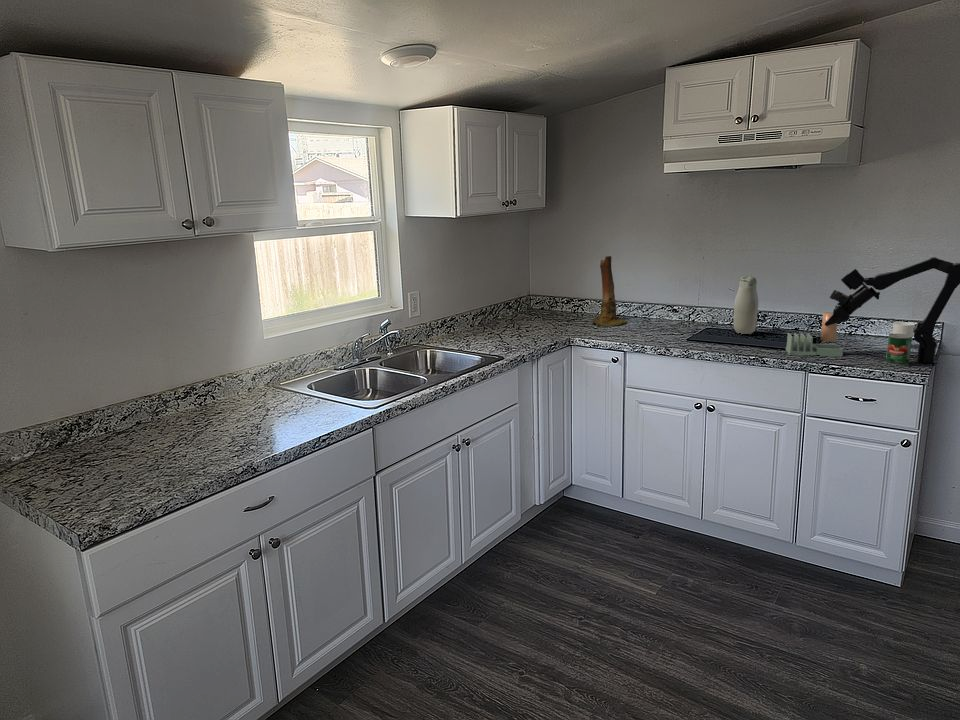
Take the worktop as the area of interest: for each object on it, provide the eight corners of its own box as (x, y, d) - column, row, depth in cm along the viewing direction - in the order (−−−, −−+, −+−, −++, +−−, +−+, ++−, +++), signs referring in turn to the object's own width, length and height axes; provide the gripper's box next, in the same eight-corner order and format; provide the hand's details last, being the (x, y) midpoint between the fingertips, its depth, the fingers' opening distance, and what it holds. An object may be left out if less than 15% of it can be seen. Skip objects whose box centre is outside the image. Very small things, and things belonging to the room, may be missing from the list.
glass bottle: (728, 334, 328) (732, 275, 321) (741, 331, 334) (745, 273, 327) (747, 337, 320) (751, 277, 314) (760, 334, 326) (764, 275, 320)
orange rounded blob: (838, 340, 282) (841, 314, 279) (826, 341, 281) (829, 315, 278) (829, 338, 287) (831, 312, 285) (817, 339, 286) (820, 312, 284)
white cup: (915, 348, 290) (918, 325, 288) (894, 348, 291) (897, 325, 289) (907, 344, 297) (910, 322, 295) (887, 344, 299) (890, 321, 297)
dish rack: (842, 356, 280) (844, 338, 278) (789, 355, 285) (791, 337, 283) (836, 351, 289) (838, 333, 287) (785, 350, 294) (787, 332, 292)
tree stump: (611, 328, 350) (612, 258, 342) (584, 324, 362) (584, 257, 354) (632, 322, 364) (633, 255, 356) (606, 319, 375) (606, 254, 368)
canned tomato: (905, 361, 270) (908, 333, 267) (911, 366, 262) (915, 338, 260) (882, 360, 272) (885, 333, 269) (888, 365, 264) (891, 337, 262)
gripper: (845, 281, 284) (814, 306, 293) (842, 286, 269) (809, 312, 277) (865, 300, 282) (833, 325, 290) (863, 307, 267) (829, 333, 275)
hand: (825, 323), depth 283 cm, fingers closed on orange rounded blob, 5 cm apart
